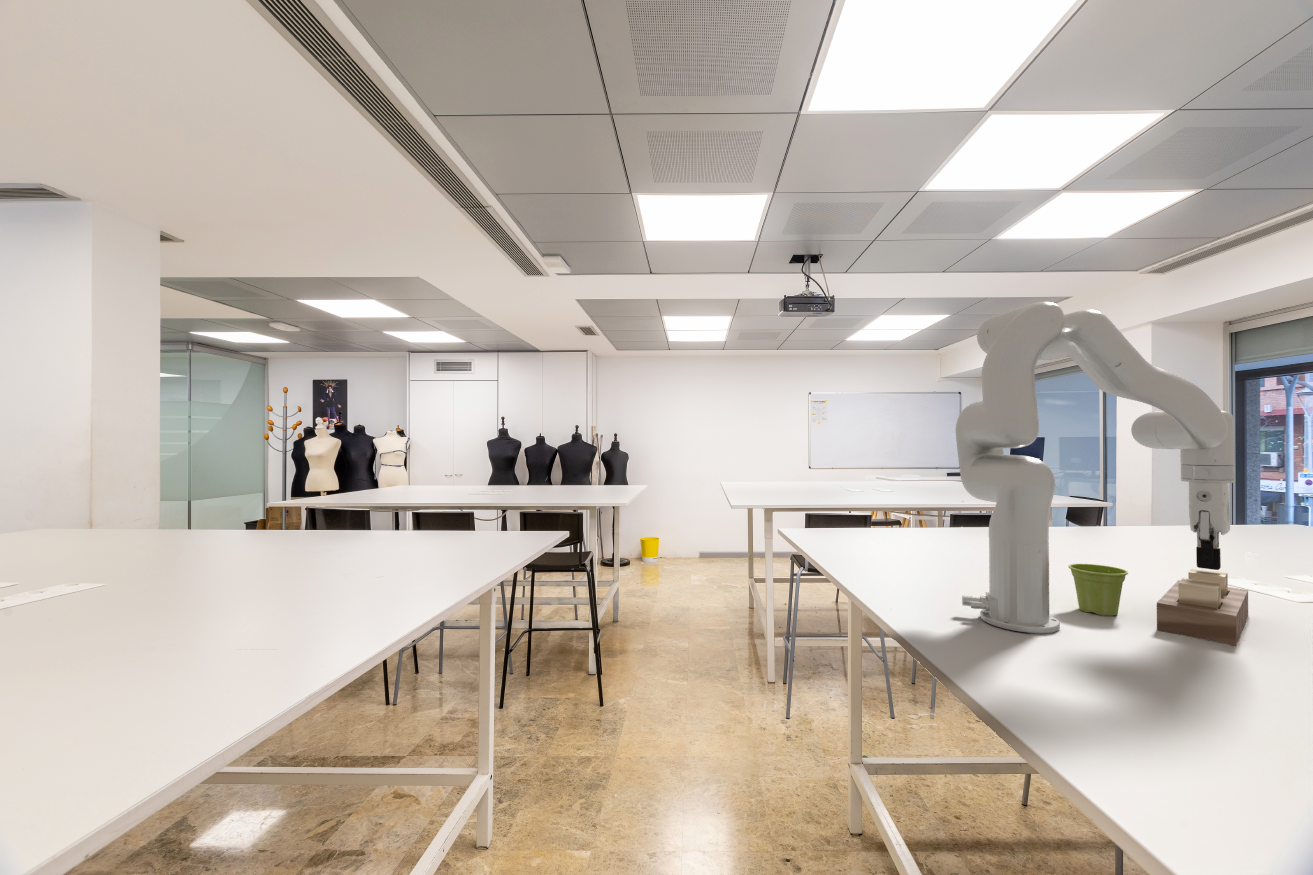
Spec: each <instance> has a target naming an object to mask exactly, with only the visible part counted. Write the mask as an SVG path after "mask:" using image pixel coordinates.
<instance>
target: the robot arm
mask: <svg viewBox="0 0 1313 875" xmlns="http://www.w3.org/2000/svg"><path fill="white" fill-rule="evenodd" d="M976 334H977V335H976V340H977V343H978V346H979V347H980V349H981V350H982V351H983V353H985V354H986V356H985V358H984V361H983V364H982V368H981V393H982V394H981V395H982V396H981V397H982V401H981V400H980V401H975V402H974V403H971V404H969V405H967V406H966V407H965V408H963V409H962V411H961V412H960V413H959V415H958V418H957V420H956V424H955V441H956V449H957V450H956V451H957V458H958V465H959V468H958V469H959V475H960V480H961V482H962V485H963V488H964V489H965V490H966V492H967V493H968V494H969V495H970V496H972V497H974V498H975V499H978V500H980V501H984V502H990V503H991V502H992V503H996V504H995V506H994V509H993V511H992V513H991V516H990V518H989V524H988V564H989V565H988V571H989V572H988V573H989V574H988V576H989V577H988V578H989V584H988V585H989V587H988V588H989V591H986V592H985V595H980V596H978V597H977V596H972V595H962V596H961V604H962V605H961V606H965V607H970V609H974V610H975V609H976V610H980V611H979V613H980V614H979V616H980V619H981V620H983V622H985V623H987V624H990V625H992V626H993V627H994V626H995V627H999V628H1001V629H1005V630H1008V631H1009V630H1010V631H1013V632H1014V631H1016V632H1020V633H1029V634H1050V633H1055V632H1058V631H1059V630H1060V627H1061V623H1060V621H1059V619H1057V618H1056V617H1054V616H1052V615H1050V543H1049V542H1050V541H1049V538H1050V537H1049V536H1050V535H1049V532H1050V531H1049V530H1050V528H1049V527H1050V525H1049V524H1050V512H1051V508H1052V503H1053V499H1054V496H1055V495H1054V494H1055V489H1056V488H1055V487H1056V479H1055V475H1054V472H1053V471H1052V469H1051V468H1050V467H1049V465H1047V464H1046V462H1044V461H1042V460H1040V459H1039V458H1036V457H1033V456H1030V455H1029V456H1028V455H1021V454H1020V455H1017V454H1004V453H1005V452H1004V449H1019V448H1020V449H1021V448H1023V447H1027V446H1030V445H1031V444H1033V443H1034V442H1035V441H1036V439H1037V438H1038V436H1039V432H1040V422H1039V421H1040V420H1039V411H1038V404H1037V392H1036V384H1035V382H1036V381H1035V379H1036V378H1035V376H1036V375H1035V373H1036V367H1037V364H1038V361H1052V360H1053V361H1054V360H1059V359H1066V358H1070V359H1072V361H1074V362H1075V363H1076V364H1077V366H1078V367H1079V368H1080V369H1081V370H1082V372H1083V373H1084V374H1085V375H1086V376H1087V377H1088V378H1089V379H1090V380H1091V381H1092V382H1093V384H1094V385H1095V386H1096V387H1097V388H1098V389H1099V390H1100V391H1101V392H1104V393H1106V394H1108V395H1112V396H1115V397H1118V398H1122V399H1127V400H1131V401H1135V402H1139V403H1143V404H1146V405H1149V406H1151V407H1154V408H1156V409H1159V410H1155V411H1150V412H1147V413H1142V415H1139V416H1138V417H1137V418H1136V419H1135V420H1134V421H1133V423H1132V424H1131V429H1130V430H1131V431H1130V432H1131V435H1132V437H1133V439H1134V440H1135V441H1136V442H1137V443H1138V444H1140V445H1142V446H1143V447H1145V448H1149V449H1156V450H1157V449H1158V450H1180V456H1179V457H1180V481H1181V482H1188V511H1189V512H1188V513H1189V514H1188V515H1189V516H1188V517H1189V528H1190V531H1191V532H1193V533H1196V543H1197V544H1196V548H1195V549H1196V551H1195V552H1196V553H1195V554H1196V568H1197V569H1204V570H1212V571H1219V570H1220V569H1221V568H1222V567H1221V562H1222V561H1221V558H1222V557H1221V548H1220V536H1225V535H1227V534H1228V533H1229V532H1230V531H1231V520H1230V497H1229V496H1230V495H1229V486H1228V484H1235V483H1236V476H1235V475H1236V469H1235V468H1236V466H1235V419H1234V416H1233V414H1232V413H1231V412H1229V411H1225V410H1221V409H1220V408H1219V406H1218V405H1217V404H1216V403H1215V401H1213V399H1212V398H1211V397H1210V396H1209V395H1208V394H1207V393H1206V392H1205V391H1204V390H1203V389H1201V388H1200V387H1199V386H1197V385H1196V384H1194V383H1192V382H1191V381H1189V380H1187V379H1184V378H1182V376H1181V377H1180V376H1178V375H1177V374H1175V373H1173V372H1170V371H1169V370H1166V369H1164V368H1161V367H1158V366H1156V365H1153V364H1152V363H1150V362H1148V361H1147V360H1146V359H1145V358H1144V357H1143V355H1142V354H1140V352H1139V351H1138V350H1137V349H1136V348H1135V347H1134V346H1133V345H1132V343H1130V341H1129V340H1128V339H1127V337H1126V336H1124V334H1123V333H1122V332H1121V331H1120V330H1119V328H1118V327H1116V325H1115V324H1114V323H1113V322H1112V321H1111V320H1110V318H1108V316H1107V315H1106V314H1104V313H1103V312H1101V311H1099V310H1095V309H1084V310H1083V309H1082V310H1079V311H1078V310H1077V311H1074V312H1070V313H1064V311H1063V309H1062V308H1061V306H1059V305H1058V304H1056V303H1054V302H1050V301H1039V302H1033V303H1030V304H1029V303H1028V304H1026V305H1023V306H1020V307H1017V308H1013V309H1010V310H1008V311H1005V312H1002V313H999V314H996V315H993V316H991V317H989V318H987V319H986V320H984V322H982V323H981V325H980V326H979V328H978V330H977V333H976ZM1220 534H1221V535H1220Z"/></svg>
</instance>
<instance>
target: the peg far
mask: <svg viewBox="0 0 1313 875" xmlns="http://www.w3.org/2000/svg"><path fill="white" fill-rule="evenodd" d="M1187 573H1188V575H1187V576H1188V578H1187V579H1193V580H1201V581H1208V582H1215V583H1221V595H1223V596H1227V595H1228V587H1229V584H1228V582H1229V575H1228V574H1229V573H1228V572H1226V571H1219V570H1212V569H1204V568H1196V567H1195V568H1194V567H1192V568H1191V569H1190V570H1189V571H1188V572H1187Z"/></svg>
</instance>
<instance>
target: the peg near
mask: <svg viewBox="0 0 1313 875" xmlns="http://www.w3.org/2000/svg"><path fill="white" fill-rule="evenodd" d="M1178 590H1179V602H1180V603H1186V604H1192V605H1199V606H1205V607H1211V608H1217V609H1220V608H1221V583H1215V582H1208V581H1201V580H1193V579H1188V578H1184V577H1183V578H1181V579H1180V582H1179V583H1178Z"/></svg>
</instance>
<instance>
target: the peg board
mask: <svg viewBox="0 0 1313 875" xmlns="http://www.w3.org/2000/svg"><path fill="white" fill-rule="evenodd" d="M1180 580H1181V579H1180ZM1180 580H1179V579H1177V581H1176V582H1175V583H1174V584H1173V585H1172V586H1171V587H1170V588H1169V589H1168V590H1167V591H1166V592H1165V593H1164V595H1162V597H1161V598H1159V599H1158V601H1157V602H1156V631H1159V632H1165V633H1169V634H1170V633H1171V634H1174V635H1179V636H1180V635H1181V636H1185V637H1190V638H1193V639H1194V638H1196V639H1200V640H1204V641H1205V640H1206V641H1211V642H1216V643H1220V644H1226V645H1232V646H1237V645H1238V643H1239V640H1240V638H1241V635H1242V632H1243V630H1244V628H1245V625H1246V623H1247V620H1248V617H1249V589H1242V588H1237V587H1229V586H1228V595H1227V596H1223V595H1221V608H1220V609H1217V608H1211V607H1205V606H1199V605H1192V604H1186V603H1180V602H1179V590H1178V583H1179V582H1180Z"/></svg>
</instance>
